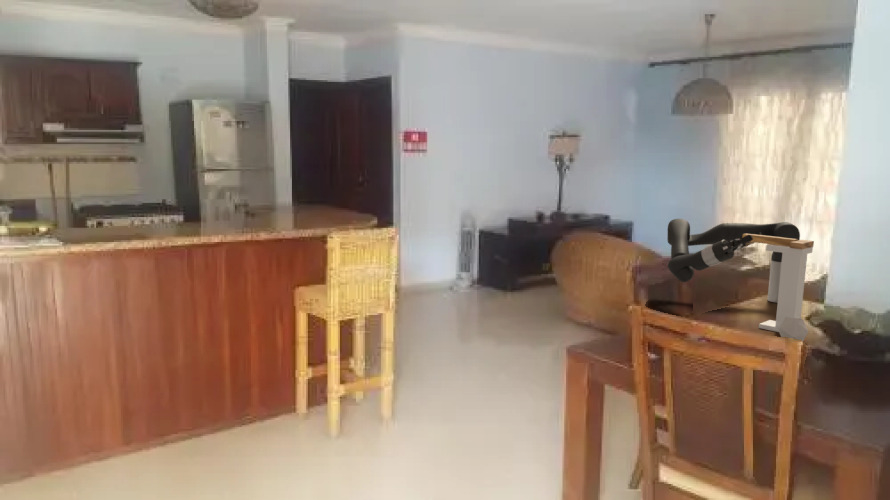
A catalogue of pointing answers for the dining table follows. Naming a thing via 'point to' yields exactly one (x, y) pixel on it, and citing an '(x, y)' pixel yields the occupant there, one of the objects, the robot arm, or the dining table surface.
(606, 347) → the dining table surface
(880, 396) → the dining table surface
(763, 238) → the t bar
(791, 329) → the die
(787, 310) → the i beam
